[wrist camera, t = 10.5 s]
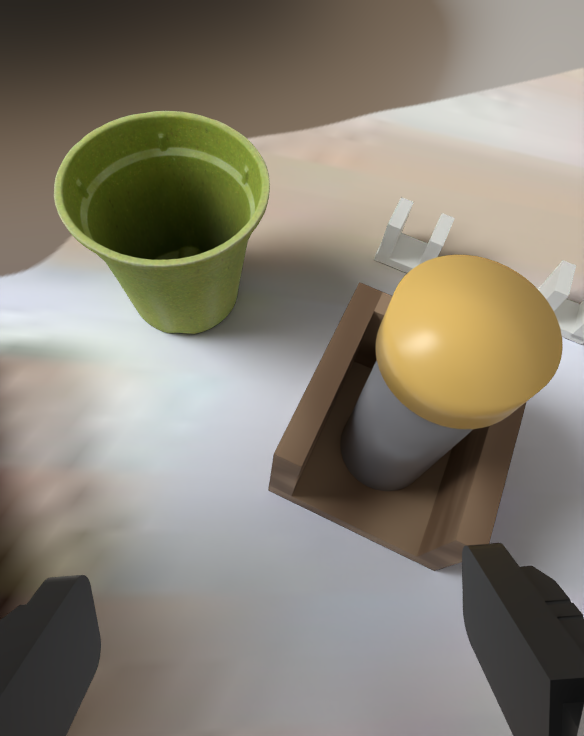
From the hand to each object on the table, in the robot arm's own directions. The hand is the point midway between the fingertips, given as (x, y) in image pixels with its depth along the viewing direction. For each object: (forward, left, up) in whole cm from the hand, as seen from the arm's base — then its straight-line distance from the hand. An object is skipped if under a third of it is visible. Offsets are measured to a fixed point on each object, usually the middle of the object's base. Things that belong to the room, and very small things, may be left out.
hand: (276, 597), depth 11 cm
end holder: (+2, +10, -14) cm, 17 cm away
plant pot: (-12, +14, -14) cm, 23 cm away
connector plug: (+2, +9, -13) cm, 16 cm away
